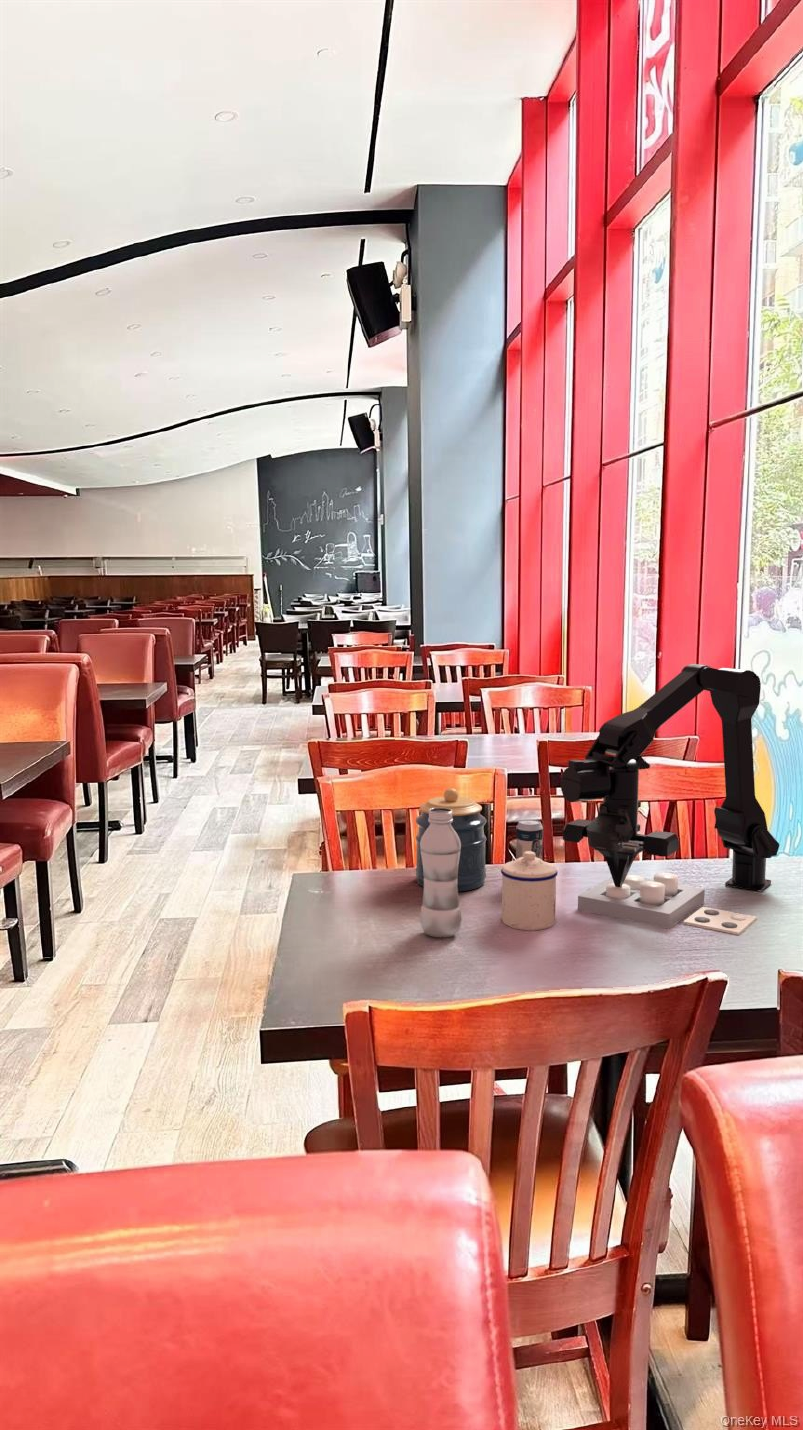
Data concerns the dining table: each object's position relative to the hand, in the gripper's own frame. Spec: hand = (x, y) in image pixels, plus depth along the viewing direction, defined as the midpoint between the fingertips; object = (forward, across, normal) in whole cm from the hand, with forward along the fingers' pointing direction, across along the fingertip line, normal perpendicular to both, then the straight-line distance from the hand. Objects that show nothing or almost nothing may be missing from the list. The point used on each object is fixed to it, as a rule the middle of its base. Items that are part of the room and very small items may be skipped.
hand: (618, 886), depth 168 cm
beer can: (+4, -18, +1) cm, 18 cm away
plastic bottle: (+4, -17, -29) cm, 33 cm away
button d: (+2, +6, 0) cm, 6 cm away
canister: (+4, -31, -4) cm, 32 cm away
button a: (+3, 0, +6) cm, 7 cm away
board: (+4, +3, +3) cm, 6 cm away
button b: (+2, +6, +6) cm, 9 cm away
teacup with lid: (+4, -10, -15) cm, 18 cm away
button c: (+3, 0, 0) cm, 3 cm away
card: (+4, +16, +3) cm, 17 cm away
